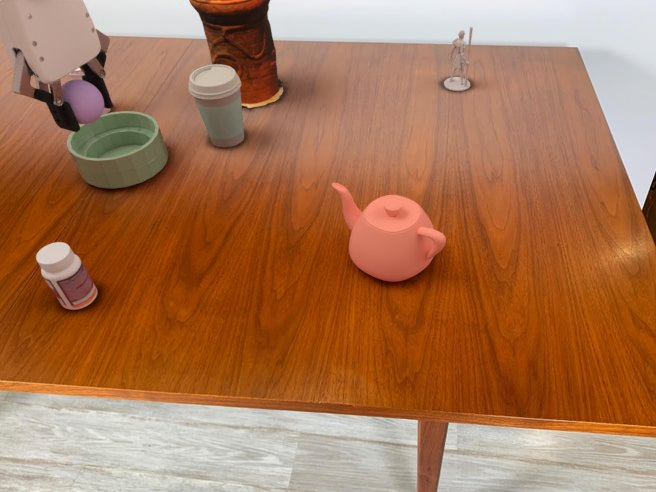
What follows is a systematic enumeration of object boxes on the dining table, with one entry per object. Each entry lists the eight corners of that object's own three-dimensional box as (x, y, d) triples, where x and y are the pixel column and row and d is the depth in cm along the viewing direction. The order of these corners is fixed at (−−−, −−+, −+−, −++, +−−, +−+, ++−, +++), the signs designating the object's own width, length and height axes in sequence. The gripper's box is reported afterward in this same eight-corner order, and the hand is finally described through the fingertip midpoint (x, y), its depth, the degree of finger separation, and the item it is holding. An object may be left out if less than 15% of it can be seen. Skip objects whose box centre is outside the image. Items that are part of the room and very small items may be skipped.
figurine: (475, 84, 116) (482, 24, 107) (457, 94, 113) (463, 32, 104) (456, 75, 118) (461, 15, 109) (438, 84, 116) (442, 23, 107)
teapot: (419, 305, 77) (422, 254, 70) (312, 253, 83) (305, 202, 76) (463, 252, 83) (469, 200, 76) (360, 208, 90) (358, 156, 83)
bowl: (74, 195, 93) (58, 164, 88) (89, 145, 102) (75, 115, 98) (165, 186, 94) (154, 154, 90) (171, 137, 104) (162, 107, 99)
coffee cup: (238, 120, 108) (224, 57, 99) (260, 141, 103) (248, 77, 94) (195, 135, 104) (177, 72, 95) (216, 158, 100) (199, 93, 91)
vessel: (198, 103, 112) (169, -5, 97) (233, 69, 121) (212, -35, 106) (266, 115, 109) (246, 5, 94) (297, 79, 118) (284, -27, 103)
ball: (62, 134, 75) (44, 95, 71) (71, 111, 79) (54, 73, 75) (106, 130, 76) (90, 91, 72) (113, 108, 79) (98, 70, 75)
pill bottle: (103, 284, 80) (79, 239, 74) (90, 311, 76) (63, 266, 70) (69, 284, 80) (42, 239, 74) (54, 310, 77) (25, 265, 70)
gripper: (56, -59, 70) (109, 82, 83) (-70, -8, 59) (14, 145, 73) (105, -51, 68) (151, 92, 81) (-16, 4, 57) (60, 158, 71)
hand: (86, 115), depth 77 cm, fingers closed on ball, 5 cm apart
